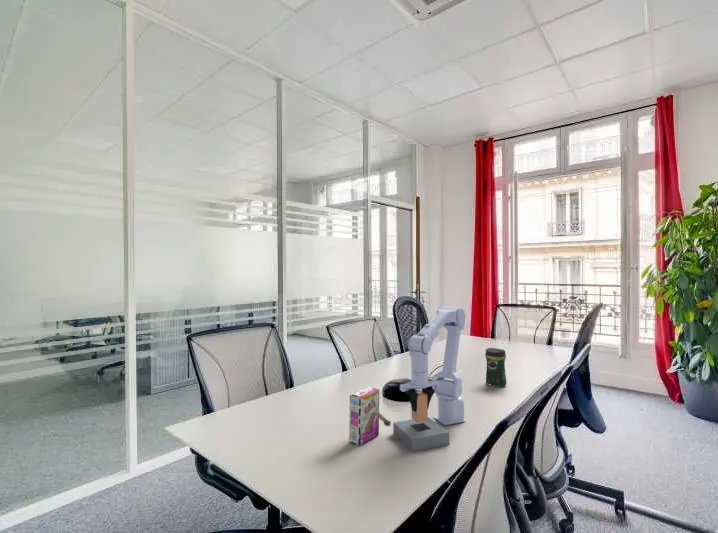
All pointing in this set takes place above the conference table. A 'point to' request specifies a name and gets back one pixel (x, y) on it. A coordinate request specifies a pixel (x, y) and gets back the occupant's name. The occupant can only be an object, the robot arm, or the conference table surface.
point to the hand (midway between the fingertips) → (420, 409)
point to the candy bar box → (364, 415)
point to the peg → (421, 408)
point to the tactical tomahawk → (384, 419)
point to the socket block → (420, 434)
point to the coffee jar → (495, 367)
